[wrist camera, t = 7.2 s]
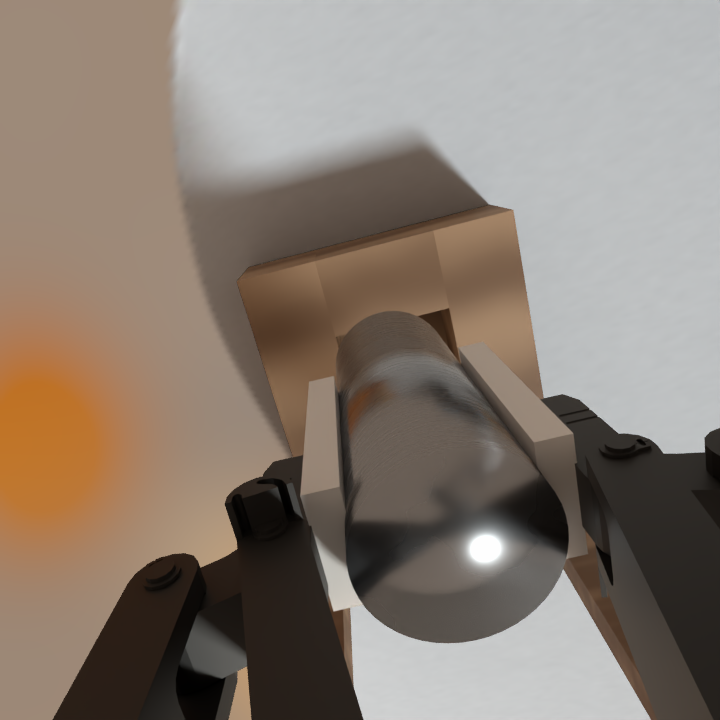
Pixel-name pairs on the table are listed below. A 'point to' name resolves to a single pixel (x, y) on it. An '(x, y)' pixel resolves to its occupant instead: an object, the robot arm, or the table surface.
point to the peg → (438, 491)
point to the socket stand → (429, 302)
